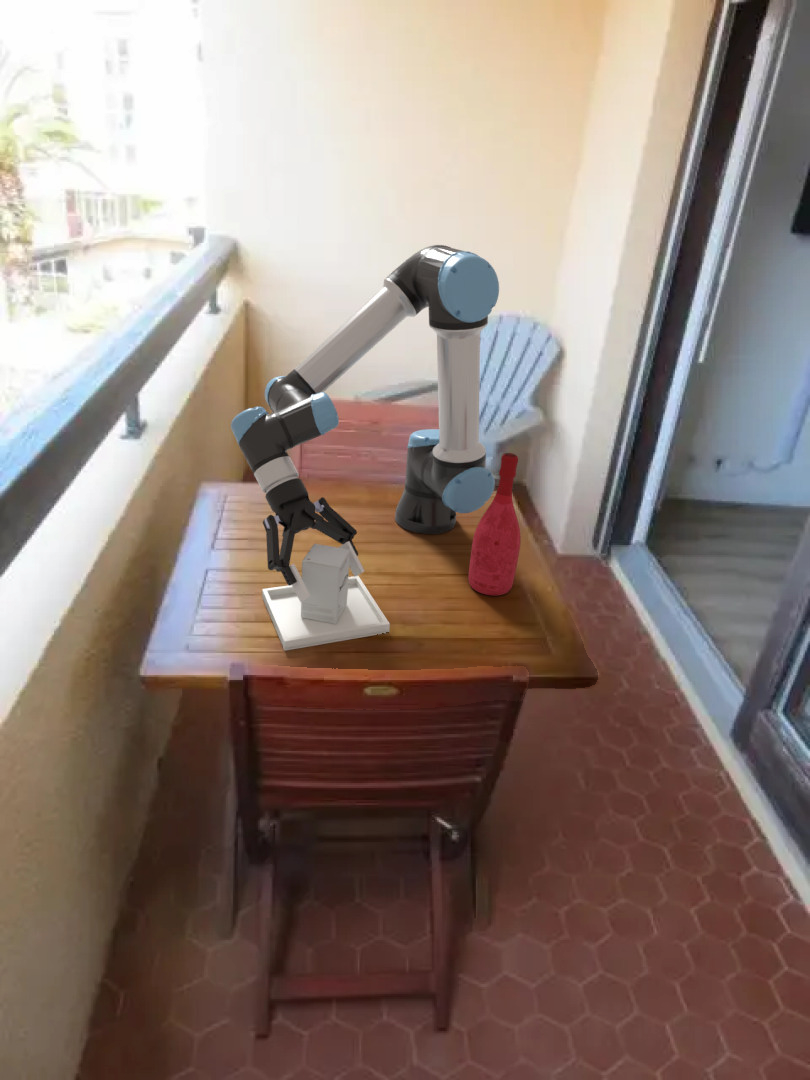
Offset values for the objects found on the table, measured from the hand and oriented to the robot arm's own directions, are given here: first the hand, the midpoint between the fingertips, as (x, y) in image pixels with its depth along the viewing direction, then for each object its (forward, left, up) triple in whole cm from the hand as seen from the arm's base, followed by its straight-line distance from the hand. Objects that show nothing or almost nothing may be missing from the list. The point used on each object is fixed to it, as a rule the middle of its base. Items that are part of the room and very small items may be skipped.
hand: (333, 586), depth 134 cm
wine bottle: (-36, -3, -8) cm, 37 cm away
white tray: (+1, -2, -8) cm, 8 cm away
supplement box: (+1, -2, -7) cm, 8 cm away
